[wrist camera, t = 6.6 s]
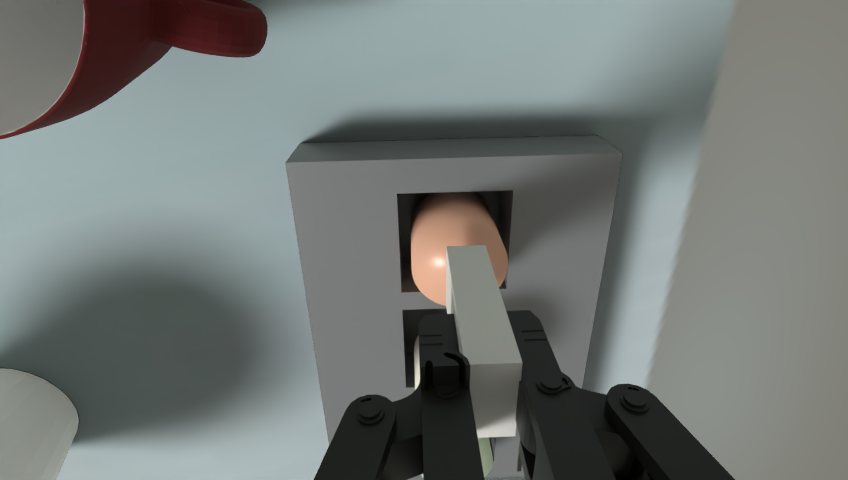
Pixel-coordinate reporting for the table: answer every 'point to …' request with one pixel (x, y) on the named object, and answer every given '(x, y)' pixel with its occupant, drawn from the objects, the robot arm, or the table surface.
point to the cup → (33, 427)
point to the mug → (104, 49)
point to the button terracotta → (451, 238)
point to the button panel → (391, 250)
